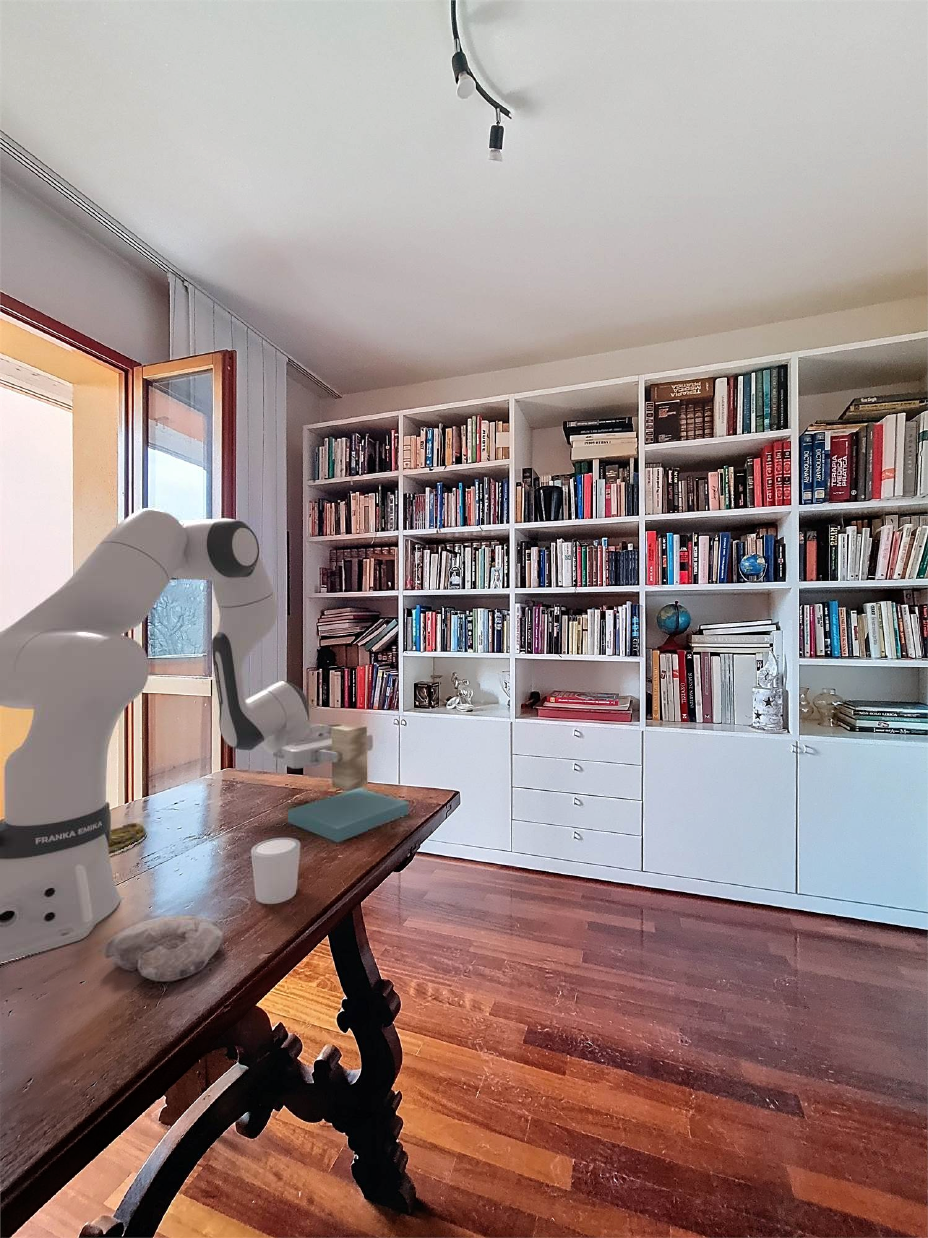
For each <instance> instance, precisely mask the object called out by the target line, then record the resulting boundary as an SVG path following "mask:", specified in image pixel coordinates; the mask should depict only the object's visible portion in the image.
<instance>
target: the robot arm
mask: <svg viewBox="0 0 928 1238" xmlns="http://www.w3.org/2000/svg"><path fill="white" fill-rule="evenodd" d="M171 580H172V581H175V580H177V581H178V580H192V581H193V580H195V581H196V580H198V581H207V580H210V582H211V583H212V589H213V592H214V598H215V601H216V604H217V607H218V611H219V612H218V613H219V622H218V628H217V632H216V633H215V635H214V636H213V638H212V641H211V655H212V663H213V671H214V678H215V685H216V691H217V699H218V700H217V701H218V705H219V706H218V707H219V717H218V718H219V719H218V722H219V723H218V724H219V725H218V727H219V730H220V734H221V736H222V738H223V740H224V742H225V743H226V745H228V746H229V747H230V748H232V749H236V750H239V751H253V750H254V749H255V748H257V747H258V746H259V745H261V746H262V747H263V748H264V749H265V751H267V752H268V753H270V754H271V755H272V756H273V757H274V758H276V759H280V761H281V764H283V765H284V766H286V767H288V768H290V769H303V768H306V767H316V766H320V765H321V764H323V763H326V762H331V763H332V762H338V761H341V760H342V753H341V752H339V751H334V752H333V751H332V727H337V726H342V725H344V724H343V723H342V724H338V723H337V724H328V725H327V724H321V723H311V722H309V721H310V707H309V702H308V699H307V697H306V695H305V693H304V691H303V690H302V689H300V687H299V686H297V685H296V684H293V683H292V682H289V681H287V680H278V681H277V682H275V683H273V684H271V685H269V686H267V687H265V688H264V689H262V690H260V691H259V692H257V693H255V694H253V695H251V696H249V697H248V698H246V695H245V686H244V681H243V666H244V663H245V660H246V659H247V657H249V655H250V654H251V652H252V651H253V650H254V648H256V646H258V645H259V643H260V642H261V641H262V640H264V638H266V637H267V636H268V635H269V633H270V632H271V631H272V630H273V628H274V626H275V624H276V622H277V619H278V604H277V600H276V596H275V593H274V589H273V587H272V583H271V580H270V577H269V574H268V572H267V570H266V568H265V566H264V563H263V561H262V559H261V557H260V545H259V541H258V538H257V535H256V534H255V532H254V531H253V530H252V529H251V527H250V526H249V525H248V524H247V523H245V522H244V521H242V520H238V519H234V518H233V519H232V518H219V519H210V518H206V519H201V518H200V519H194V518H193V519H186V520H181V521H179V520H178V519H177V518H176V517H175V516H173V515H172V514H171V513H168V512H167V511H164V510H162V509H158V508H152V507H151V508H150V507H146V508H141V509H138V510H136V511H134V512H132V513H131V514H129V515H128V516H127V517H125V518H124V519H123V520H122V521H121V522H119V523H118V524H117V525H116V526H115V527H114V528H113V529H112V530H111V531H110V532H109V533H108V534H107V535H105V537H104V538H103V539H102V540H101V542H100V543H99V544H98V545H97V546H96V547H95V549H94V550H93V551H92V552H91V553H90V555H89V556H88V557H87V558H86V559H85V561H83V563H82V564H81V566H79V568H78V569H77V570H76V571H75V572H74V573H73V575H72V576H71V577H70V578H69V579H68V580H67V581H66V582H65V583H64V584H63V585H61V587H60V588H58V589H57V591H55V592H54V593H52V594H51V595H50V596H48V597H47V598H45V600H43V601H42V602H41V603H39V604H38V605H36V606H35V607H34V608H33V609H31V610H30V611H28V612H27V613H26V614H25V615H24V616H22V617H21V618H20V619H18V620H17V621H15V622H14V623H12V624H11V625H9V626H8V627H7V628H4V630H2V631H0V706H2V707H5V708H9V709H23V710H33V715H32V720H31V724H30V728H29V729H28V732H27V735H26V736H25V737H26V738H25V739H24V741H23V742H22V744H21V746H19V747H17V748H16V749H15V750H14V751H13V752H11V754H9V756H7V757H8V758H7V759H6V761H5V764H4V768H3V769H4V776H3V777H4V787H3V788H4V798H3V799H4V802H3V804H4V807H3V808H4V815H3V816H4V817H3V819H1V820H0V963H1V962H5V961H9V960H11V959H16V958H20V957H23V956H27V955H30V956H32V955H31V954H33V955H36V954H39V952H40V953H42V951H43V952H45V951H48V950H49V951H50V950H53V949H56V948H59V947H62V946H65V945H68V944H72V943H74V942H78V941H80V940H82V939H84V938H86V937H87V936H88V935H89V934H90V933H91V932H92V930H93V929H94V927H95V926H96V925H97V924H98V923H99V922H101V921H102V920H104V919H105V918H106V917H108V916H109V915H110V914H112V912H113V911H114V910H115V909H116V908H117V907H118V905H119V903H120V902H121V896H120V894H119V893H120V892H119V891H118V888H117V885H116V883H115V879H114V878H115V877H114V875H113V869H112V865H111V859H110V858H111V857H109V850H108V842H109V841H110V833H111V830H112V816H111V815H112V814H111V810H110V803H109V802H108V801H107V769H108V767H107V766H108V754H109V753H108V752H109V751H108V750H109V746H110V742H111V738H112V735H113V732H114V730H115V727H116V725H117V723H118V720H119V718H120V717H121V714H122V713H123V711H125V709H126V708H127V706H129V704H131V703H132V702H133V701H134V700H135V699H137V698H138V697H139V696H140V695H141V693H143V692H142V691H144V688H145V687H146V684H147V682H148V680H149V679H148V678H149V676H150V675H149V673H150V664H149V659H148V656H147V653H146V651H145V649H144V648H143V646H142V645H141V644H140V643H139V642H138V641H137V640H135V639H133V638H131V637H129V636H125V635H123V634H125V633H127V632H130V631H131V630H133V629H135V628H137V627H138V626H139V625H141V624H142V623H143V622H144V621H145V619H146V618H147V617H148V615H149V614H150V612H151V611H152V609H153V608H154V606H155V605H156V603H157V601H158V600H159V598H160V597H161V595H162V594H163V592H164V591H165V589H166V588H167V586H168V584H169V583H170V582H171ZM373 742H374V740H373V735H372V733H371V732H368V731H367V752H369V751H372V750H373V747H374V743H373ZM52 948H53V949H52ZM35 953H36V954H35ZM27 957H28V956H27ZM20 959H21V958H20Z"/></svg>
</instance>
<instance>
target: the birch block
mask: <svg viewBox="0 0 928 1238" xmlns="http://www.w3.org/2000/svg"><path fill="white" fill-rule="evenodd" d="M367 732H368V726H365V725H362V724H361V725H359V724H356V723H355V724H353V723H348V724H343V725H342V726H337V727H332V751H333V752H334V751H339V752H341V753H342V760H341V761H338V762H332V761H331V787H332V788H336V789H338V790H343V791H344V792H348V791H351V790H354V789H357V788H363V787H366V786H368V751H367Z"/></svg>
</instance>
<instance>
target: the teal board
mask: <svg viewBox="0 0 928 1238" xmlns="http://www.w3.org/2000/svg"><path fill="white" fill-rule="evenodd" d="M406 814H409V815H410V803H409V802H408V801H404V800H402V799H397V798H396V797H395V798H394V797H391V796H387V795H384V794H380V793H377V792H374V791H371V790H368V789H364V788H362V787H360V788H357V789H354V790H351V791H343V792H342V793H339V794H335V795H333V796H332V795H330V796H329V797H325V798H322V799H319V800H315V801H312V802H309V803H305V804H303V805H302V804H301V805H300V806H296V807H292V808H289V809H287V823H289V824H291V825H294V826H296V827H298V828H301V829H303V830H306V831H309V832H311V833H313V834H316V835H318V836H321V837H323V838H325V839H328V840H330V841H332V842H335V843H341V842H343V841H345V840H347V839H351V838H353V837H356V836H358V835H360V834H363V833H362V832H364V833H365V831H366V832H368V830H369V829H371V830H373V829H372V828H373V827H376V826H379V825H380V824H383V823H386V822H387V821H390V820H392V819H396V818H399V817H401V816H404V815H406ZM404 817H405V816H404ZM399 819H400V818H399ZM379 827H380V826H379ZM376 828H377V827H376ZM369 831H370V830H369Z"/></svg>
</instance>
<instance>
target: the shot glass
mask: <svg viewBox="0 0 928 1238" xmlns="http://www.w3.org/2000/svg"><path fill="white" fill-rule="evenodd" d="M300 854H301V841H299V840H298V839H296V838H292V837H276V838H271V839H265V840H263V841H261V842H258V843H256V844H255V845H253V846H252V848H251V849H250V855H251V864H252V873H253V874H252V875H253V883H254V892H255V895H254V896H255V899H256V901H257V902H259V903H261V904H264V905H265V904H266V905H272V904H273V905H275V904H279V903H283V902H286V901H288V900H290V899H292V898H293V897H294V896H295V895H296V893H297V889H298V877H299V866H300Z"/></svg>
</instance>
